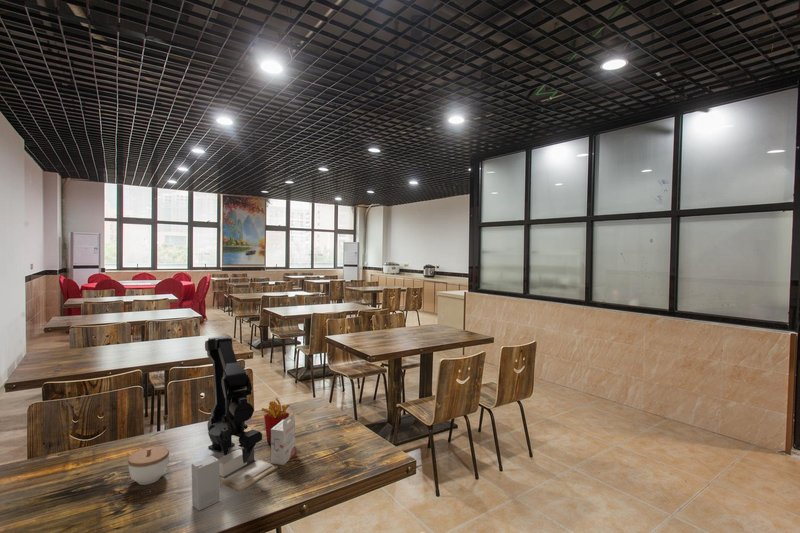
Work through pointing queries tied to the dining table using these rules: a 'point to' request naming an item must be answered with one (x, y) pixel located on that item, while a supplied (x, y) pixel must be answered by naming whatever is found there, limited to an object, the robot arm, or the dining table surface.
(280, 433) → the ink cartridge box
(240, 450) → the tall cream pillar
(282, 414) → the french fries
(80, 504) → the dining table surface
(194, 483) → the skincare box
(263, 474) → the picture frame
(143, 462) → the lidded jar
